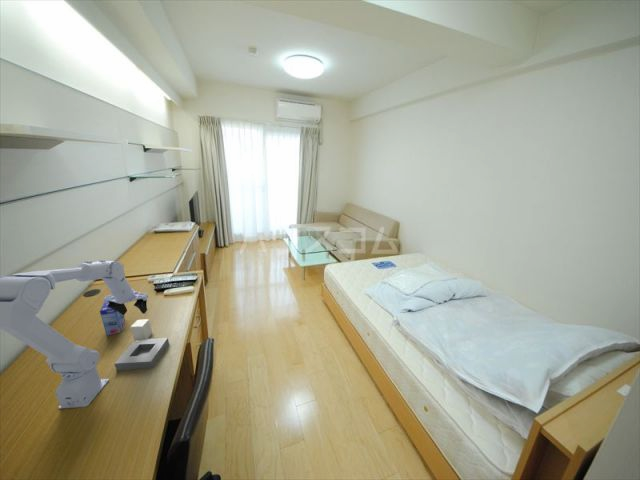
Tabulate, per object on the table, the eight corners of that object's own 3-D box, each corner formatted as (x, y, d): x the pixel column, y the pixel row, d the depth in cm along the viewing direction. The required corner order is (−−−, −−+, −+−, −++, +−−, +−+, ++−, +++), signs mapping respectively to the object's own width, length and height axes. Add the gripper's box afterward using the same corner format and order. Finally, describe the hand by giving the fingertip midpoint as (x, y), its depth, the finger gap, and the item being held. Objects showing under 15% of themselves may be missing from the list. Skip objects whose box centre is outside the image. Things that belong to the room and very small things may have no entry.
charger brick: (146, 340, 100) (142, 326, 97) (134, 341, 99) (130, 326, 97) (152, 332, 104) (149, 318, 102) (141, 333, 104) (137, 319, 102)
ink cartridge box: (122, 332, 104) (114, 303, 99) (106, 336, 101) (96, 306, 97) (126, 319, 112) (118, 291, 108) (111, 323, 110) (102, 295, 105)
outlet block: (152, 368, 87) (150, 361, 86) (116, 370, 86) (114, 363, 85) (169, 343, 98) (167, 337, 97) (137, 345, 97) (135, 338, 96)
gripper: (146, 279, 94) (158, 303, 101) (106, 281, 92) (121, 305, 100) (136, 292, 88) (150, 317, 95) (93, 295, 87) (111, 319, 94)
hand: (135, 312), depth 97 cm, fingers open, 7 cm apart
